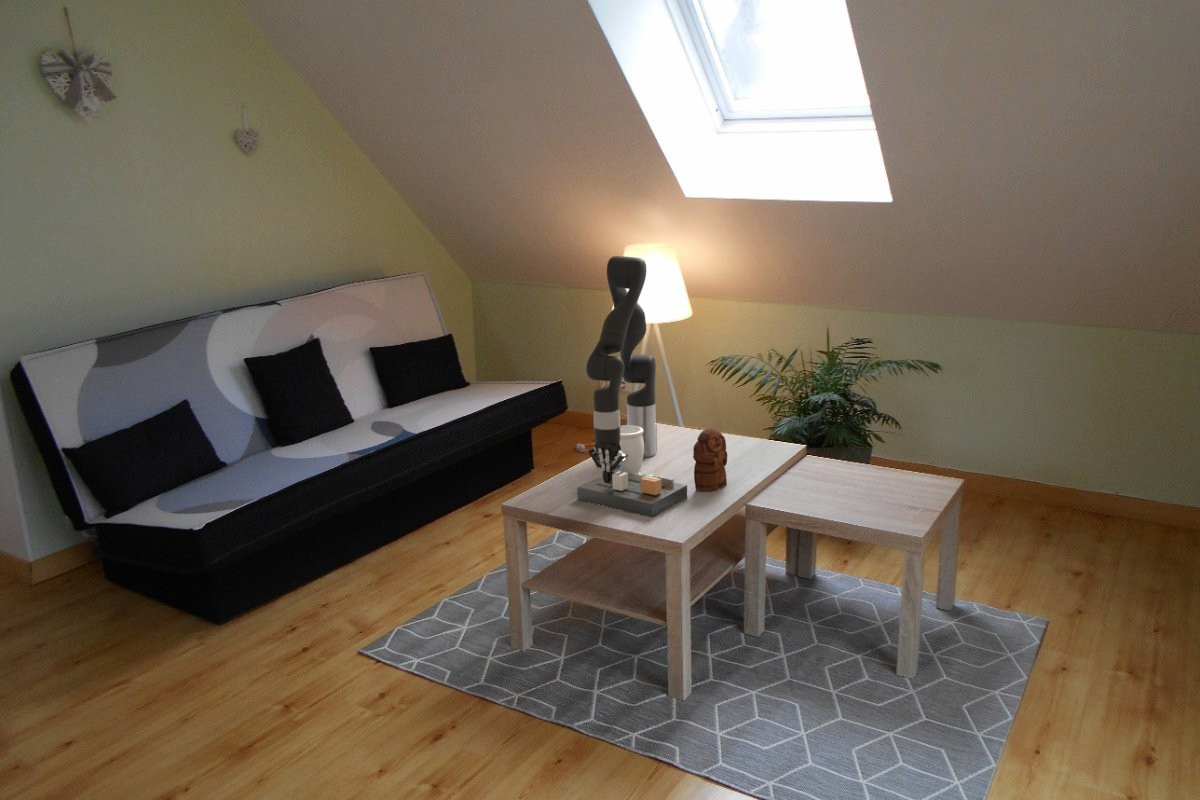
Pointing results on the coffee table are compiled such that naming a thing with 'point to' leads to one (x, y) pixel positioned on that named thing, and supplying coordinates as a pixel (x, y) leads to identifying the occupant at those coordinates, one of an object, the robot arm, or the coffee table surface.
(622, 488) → the ivory slider
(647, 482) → the tan box with strip
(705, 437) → the wooden figurine
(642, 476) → the pale green dome
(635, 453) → the jar
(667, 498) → the panel
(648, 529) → the coffee table surface
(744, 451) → the coffee table surface
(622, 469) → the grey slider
